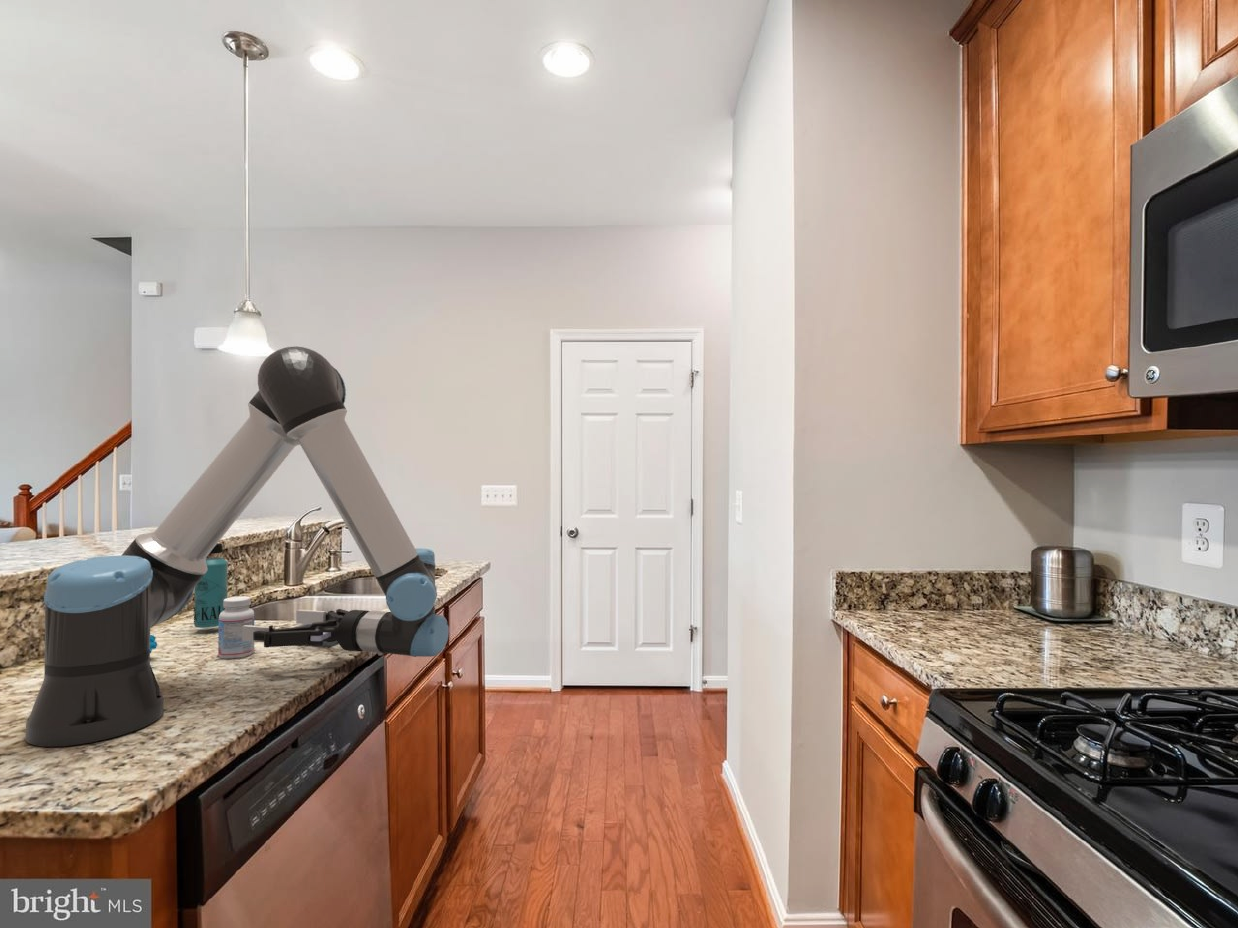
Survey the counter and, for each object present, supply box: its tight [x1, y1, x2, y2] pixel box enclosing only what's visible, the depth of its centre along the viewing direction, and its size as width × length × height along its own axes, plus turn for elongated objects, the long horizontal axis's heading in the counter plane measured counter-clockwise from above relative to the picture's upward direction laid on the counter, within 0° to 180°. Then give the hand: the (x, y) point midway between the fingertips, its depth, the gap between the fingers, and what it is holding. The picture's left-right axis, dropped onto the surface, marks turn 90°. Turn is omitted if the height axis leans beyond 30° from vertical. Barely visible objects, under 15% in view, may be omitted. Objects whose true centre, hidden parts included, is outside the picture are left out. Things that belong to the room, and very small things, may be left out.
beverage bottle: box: [192, 542, 229, 629], centre depth 142 cm, size 6×7×20 cm
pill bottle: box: [217, 596, 255, 660], centre depth 123 cm, size 6×6×11 cm
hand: (272, 624), depth 122 cm, fingers open, 13 cm apart
